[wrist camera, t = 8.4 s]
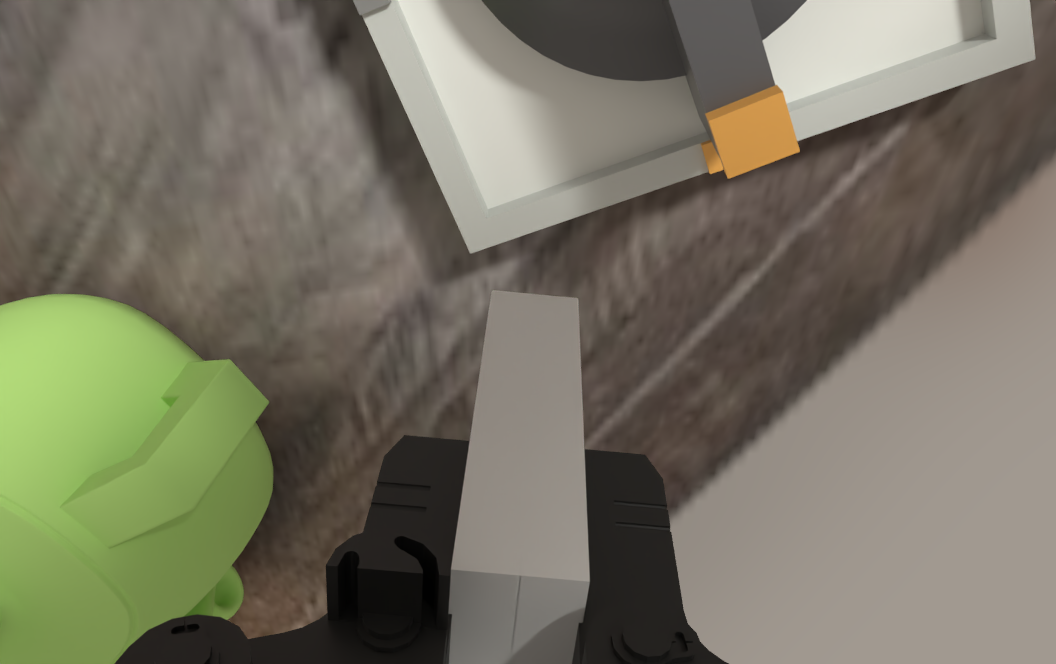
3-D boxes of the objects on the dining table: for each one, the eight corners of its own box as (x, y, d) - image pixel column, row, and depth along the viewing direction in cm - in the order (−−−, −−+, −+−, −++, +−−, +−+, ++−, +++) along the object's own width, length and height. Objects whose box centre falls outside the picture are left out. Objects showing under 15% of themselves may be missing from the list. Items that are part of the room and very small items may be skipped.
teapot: (280, 583, 50) (187, 835, 37) (-83, 521, 48) (-308, 762, 36) (308, 296, 41) (196, 503, 28) (-141, 208, 39) (-470, 386, 26)
